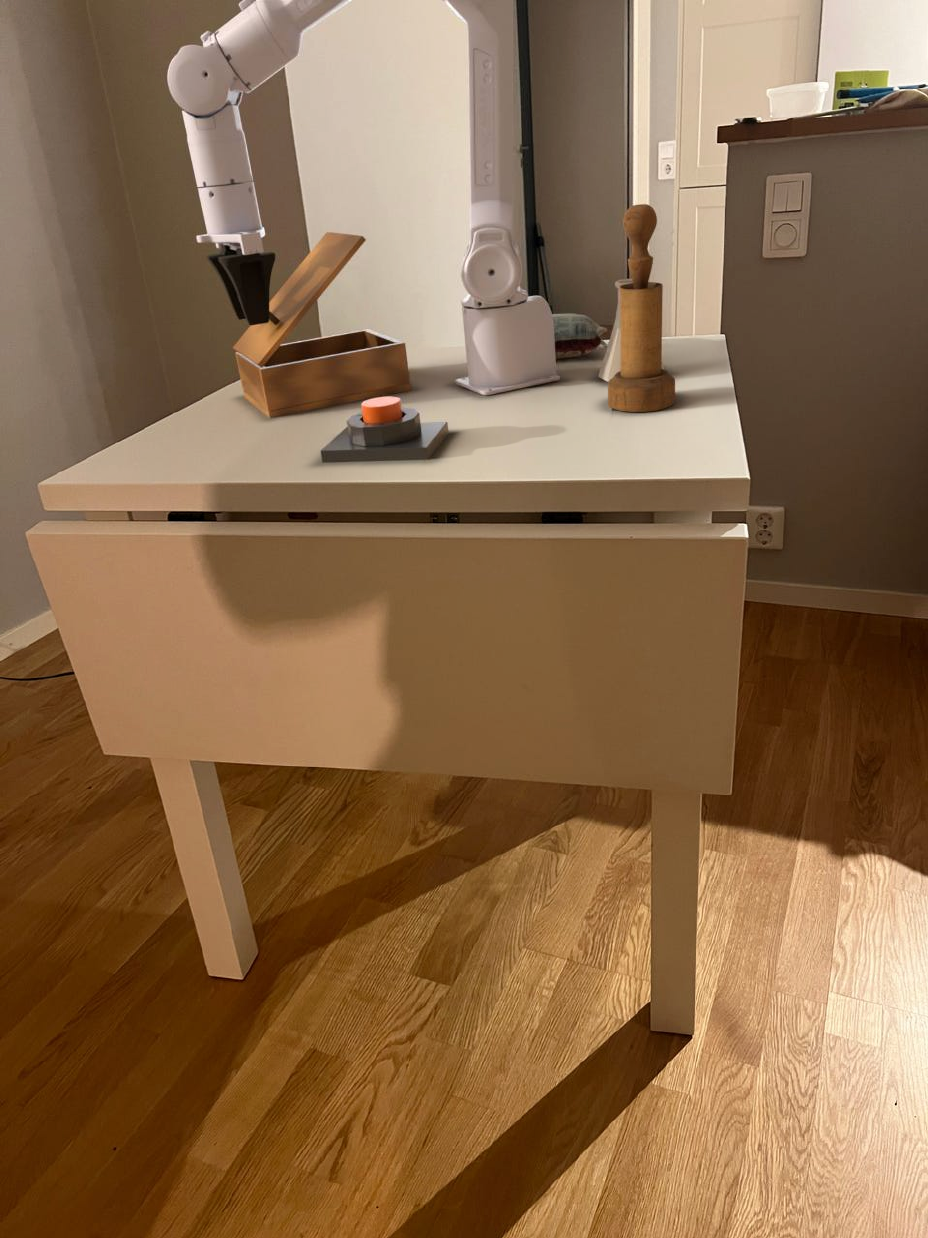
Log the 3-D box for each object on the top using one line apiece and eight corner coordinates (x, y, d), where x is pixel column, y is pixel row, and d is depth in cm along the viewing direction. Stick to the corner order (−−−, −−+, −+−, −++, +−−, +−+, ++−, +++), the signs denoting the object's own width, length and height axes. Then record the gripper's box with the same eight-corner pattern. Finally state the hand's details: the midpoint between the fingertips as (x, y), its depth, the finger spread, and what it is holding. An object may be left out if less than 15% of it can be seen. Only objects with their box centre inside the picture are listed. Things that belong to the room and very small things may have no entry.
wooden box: (374, 372, 116) (368, 328, 113) (411, 389, 105) (405, 342, 103) (244, 397, 110) (235, 352, 108) (269, 418, 100) (260, 369, 97)
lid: (330, 235, 107) (300, 203, 105) (366, 239, 97) (334, 205, 94) (236, 351, 108) (204, 323, 105) (261, 367, 97) (226, 337, 95)
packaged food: (514, 350, 119) (512, 311, 116) (607, 344, 117) (607, 304, 114) (507, 367, 111) (504, 325, 109) (607, 361, 109) (606, 318, 107)
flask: (662, 366, 104) (662, 272, 99) (668, 382, 97) (669, 282, 93) (597, 371, 105) (594, 278, 100) (599, 387, 98) (596, 288, 94)
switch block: (448, 433, 88) (445, 402, 87) (428, 460, 81) (424, 427, 80) (350, 437, 90) (345, 406, 89) (322, 463, 83) (316, 431, 82)
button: (407, 414, 86) (404, 395, 85) (396, 425, 83) (394, 406, 82) (370, 415, 86) (367, 397, 86) (358, 426, 83) (355, 407, 83)
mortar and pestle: (675, 411, 87) (676, 204, 79) (606, 414, 89) (600, 211, 80) (675, 393, 93) (676, 198, 85) (610, 396, 94) (605, 204, 86)
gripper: (175, 189, 100) (204, 319, 106) (199, 189, 88) (230, 335, 94) (239, 181, 102) (264, 309, 108) (271, 180, 90) (297, 323, 96)
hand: (253, 320), depth 101 cm, fingers closed on lid, 5 cm apart
